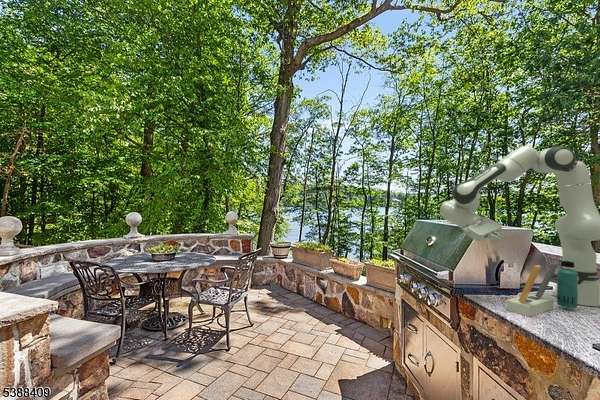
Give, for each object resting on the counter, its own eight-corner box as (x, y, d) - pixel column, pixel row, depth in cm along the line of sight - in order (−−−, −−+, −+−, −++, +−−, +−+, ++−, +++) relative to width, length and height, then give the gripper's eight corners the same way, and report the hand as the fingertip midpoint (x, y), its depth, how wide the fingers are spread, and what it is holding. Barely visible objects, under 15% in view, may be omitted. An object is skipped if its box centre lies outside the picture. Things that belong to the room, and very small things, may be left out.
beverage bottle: (568, 306, 122) (569, 259, 123) (582, 312, 116) (583, 263, 116) (552, 305, 123) (552, 259, 123) (565, 311, 116) (565, 262, 117)
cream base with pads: (530, 302, 127) (530, 292, 127) (553, 308, 120) (553, 298, 120) (506, 309, 118) (506, 299, 118) (529, 316, 110) (529, 305, 110)
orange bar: (522, 299, 117) (537, 264, 112) (525, 301, 116) (541, 266, 111) (518, 300, 115) (533, 265, 111) (521, 302, 114) (537, 267, 110)
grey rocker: (538, 294, 123) (555, 262, 118) (542, 296, 122) (558, 263, 117) (535, 295, 122) (551, 262, 117) (538, 297, 121) (555, 264, 116)
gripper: (462, 222, 128) (493, 239, 118) (485, 214, 139) (515, 229, 129) (456, 233, 131) (486, 251, 121) (479, 225, 142) (509, 240, 132)
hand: (501, 240), depth 125 cm, fingers closed
